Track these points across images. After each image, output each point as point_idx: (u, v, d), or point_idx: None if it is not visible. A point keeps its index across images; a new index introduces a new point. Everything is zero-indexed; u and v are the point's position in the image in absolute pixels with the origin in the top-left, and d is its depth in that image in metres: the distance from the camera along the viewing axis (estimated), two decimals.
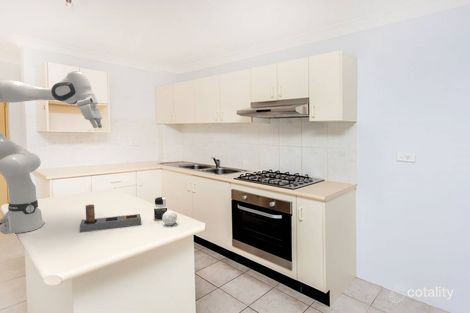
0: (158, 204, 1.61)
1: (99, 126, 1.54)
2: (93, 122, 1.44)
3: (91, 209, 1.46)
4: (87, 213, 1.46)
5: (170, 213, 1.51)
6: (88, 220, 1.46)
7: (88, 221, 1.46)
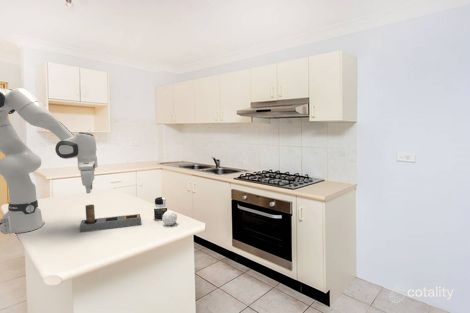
0: (158, 204, 1.61)
1: (90, 188, 1.50)
2: (88, 188, 1.41)
3: (91, 209, 1.46)
4: (87, 213, 1.46)
5: (170, 213, 1.51)
6: (88, 220, 1.46)
7: (88, 221, 1.46)
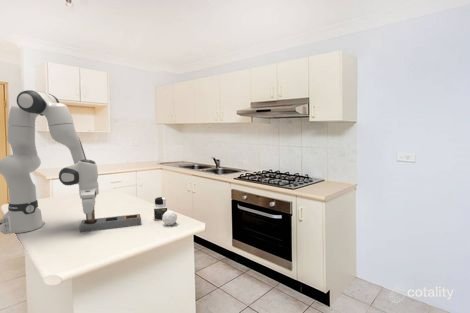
0: (158, 204, 1.61)
1: None
2: (90, 214, 1.44)
3: None
4: None
5: (170, 213, 1.51)
6: (88, 220, 1.46)
7: (88, 221, 1.46)
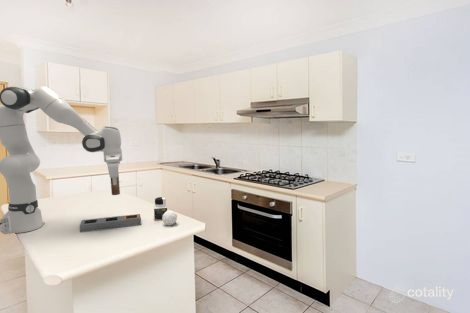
0: (158, 204, 1.61)
1: None
2: (115, 179, 1.47)
3: None
4: None
5: (170, 213, 1.51)
6: (113, 186, 1.49)
7: (113, 187, 1.49)
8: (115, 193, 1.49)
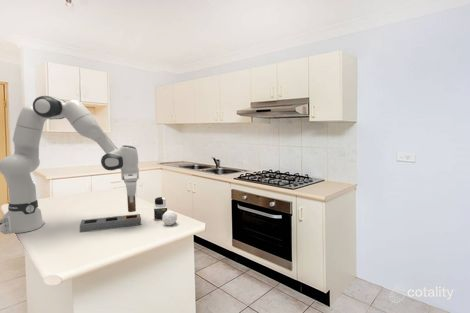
0: (158, 204, 1.61)
1: None
2: (131, 197, 1.51)
3: None
4: None
5: (170, 213, 1.51)
6: (130, 203, 1.53)
7: (130, 204, 1.53)
8: (131, 210, 1.53)
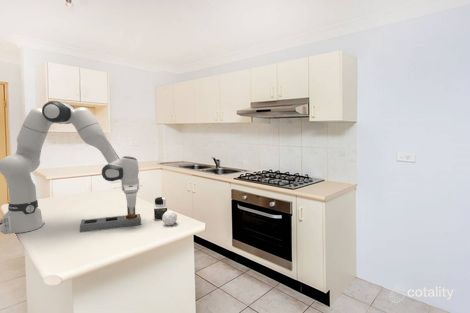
0: (158, 204, 1.61)
1: None
2: (132, 209, 1.50)
3: None
4: (129, 209, 1.53)
5: (170, 213, 1.51)
6: (130, 216, 1.53)
7: (130, 216, 1.53)
8: None
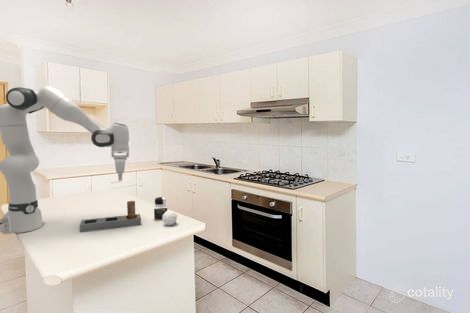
0: (158, 204, 1.61)
1: None
2: (120, 175, 1.49)
3: (132, 205, 1.53)
4: (129, 209, 1.53)
5: (170, 213, 1.51)
6: (130, 216, 1.53)
7: (130, 216, 1.53)
8: None
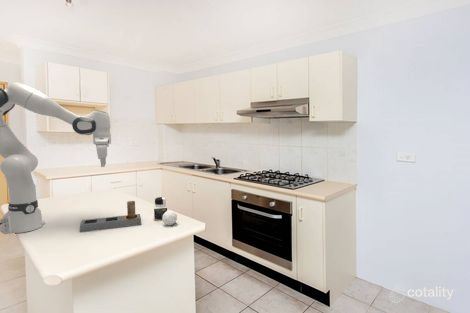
0: (158, 204, 1.61)
1: None
2: (103, 162, 1.51)
3: (132, 205, 1.53)
4: (129, 209, 1.53)
5: (170, 213, 1.51)
6: (130, 216, 1.53)
7: (130, 216, 1.53)
8: None
